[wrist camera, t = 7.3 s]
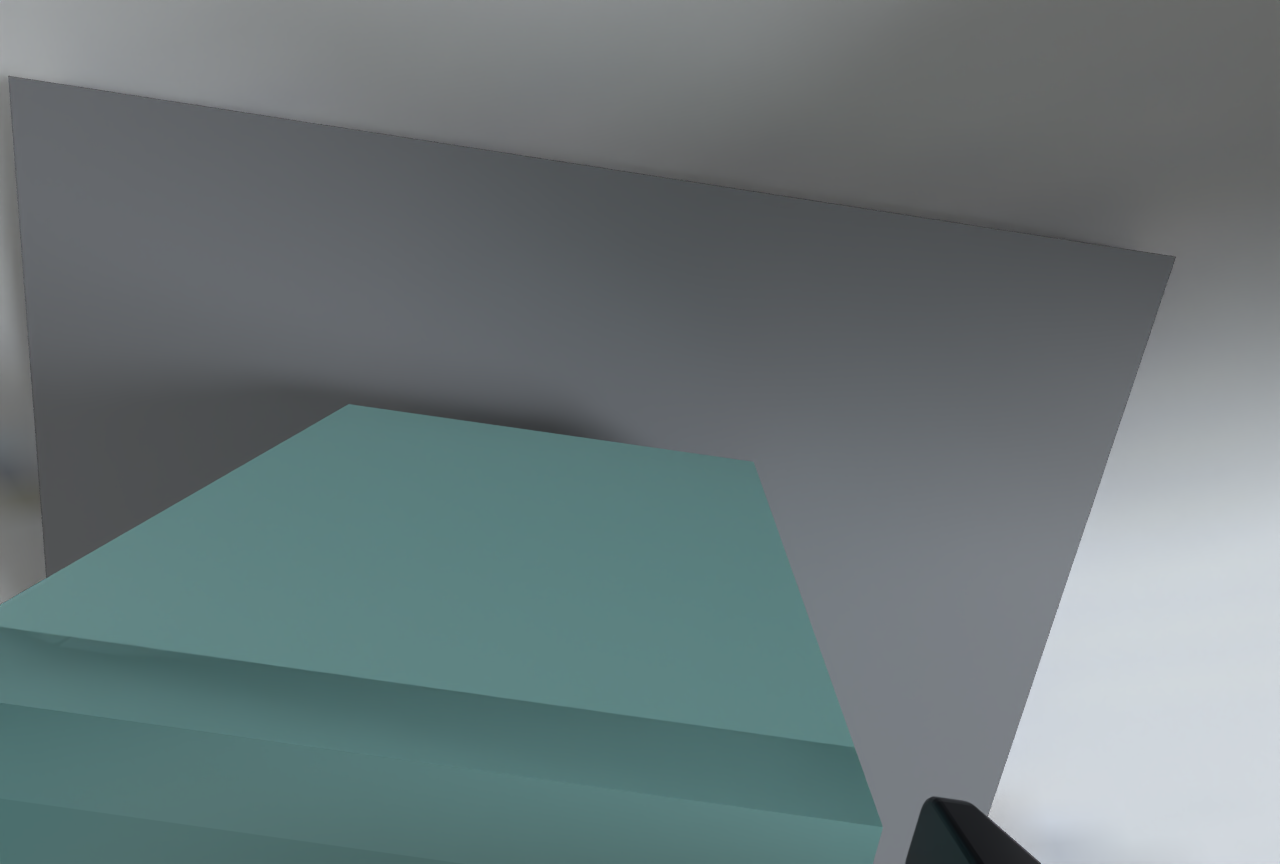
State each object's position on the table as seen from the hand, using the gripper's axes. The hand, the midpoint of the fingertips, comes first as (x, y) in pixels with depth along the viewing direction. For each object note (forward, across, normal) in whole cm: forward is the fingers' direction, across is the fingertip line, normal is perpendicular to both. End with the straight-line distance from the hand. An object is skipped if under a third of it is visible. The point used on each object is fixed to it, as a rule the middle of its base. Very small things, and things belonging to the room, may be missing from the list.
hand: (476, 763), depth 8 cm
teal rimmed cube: (+3, 0, 0) cm, 3 cm away
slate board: (+5, 0, +7) cm, 9 cm away
